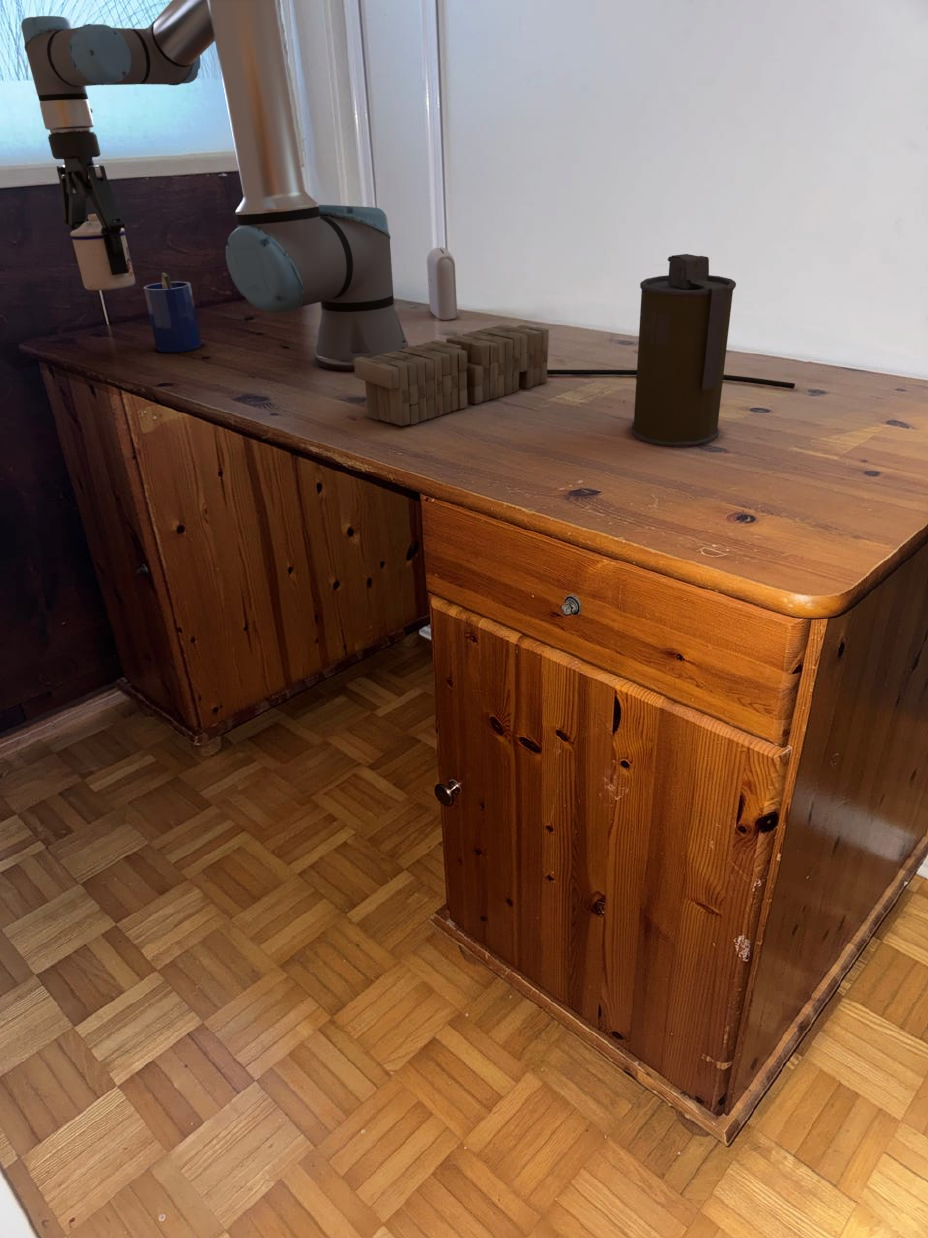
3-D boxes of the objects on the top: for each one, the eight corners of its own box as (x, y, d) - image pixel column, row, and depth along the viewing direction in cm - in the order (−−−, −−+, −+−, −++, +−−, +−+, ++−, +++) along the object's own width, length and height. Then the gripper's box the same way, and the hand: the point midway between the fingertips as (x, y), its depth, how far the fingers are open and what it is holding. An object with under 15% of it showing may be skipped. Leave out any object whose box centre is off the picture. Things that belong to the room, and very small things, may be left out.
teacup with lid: (144, 285, 153) (128, 212, 147) (92, 292, 149) (74, 218, 143) (122, 278, 162) (106, 209, 156) (72, 285, 157) (53, 214, 151)
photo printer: (427, 311, 175) (423, 245, 169) (448, 309, 176) (445, 243, 170) (437, 321, 167) (434, 252, 160) (459, 319, 167) (456, 250, 161)
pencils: (190, 343, 156) (177, 272, 150) (173, 346, 154) (159, 275, 148) (184, 341, 158) (170, 271, 152) (166, 344, 156) (152, 274, 150)
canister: (614, 428, 108) (623, 255, 98) (684, 414, 112) (699, 247, 102) (666, 454, 100) (681, 268, 90) (739, 438, 103) (762, 258, 93)
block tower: (510, 379, 133) (356, 418, 115) (510, 322, 128) (351, 353, 111) (548, 388, 127) (393, 431, 110) (550, 328, 123) (389, 363, 106)
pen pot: (209, 346, 156) (198, 284, 150) (169, 354, 151) (156, 291, 146) (188, 340, 161) (176, 280, 155) (149, 348, 156) (135, 286, 151)
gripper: (125, 127, 138) (156, 273, 148) (64, 131, 153) (96, 263, 164) (79, 129, 133) (114, 279, 144) (20, 133, 149) (56, 268, 159)
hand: (104, 271), depth 154 cm, fingers closed on teacup with lid, 12 cm apart
